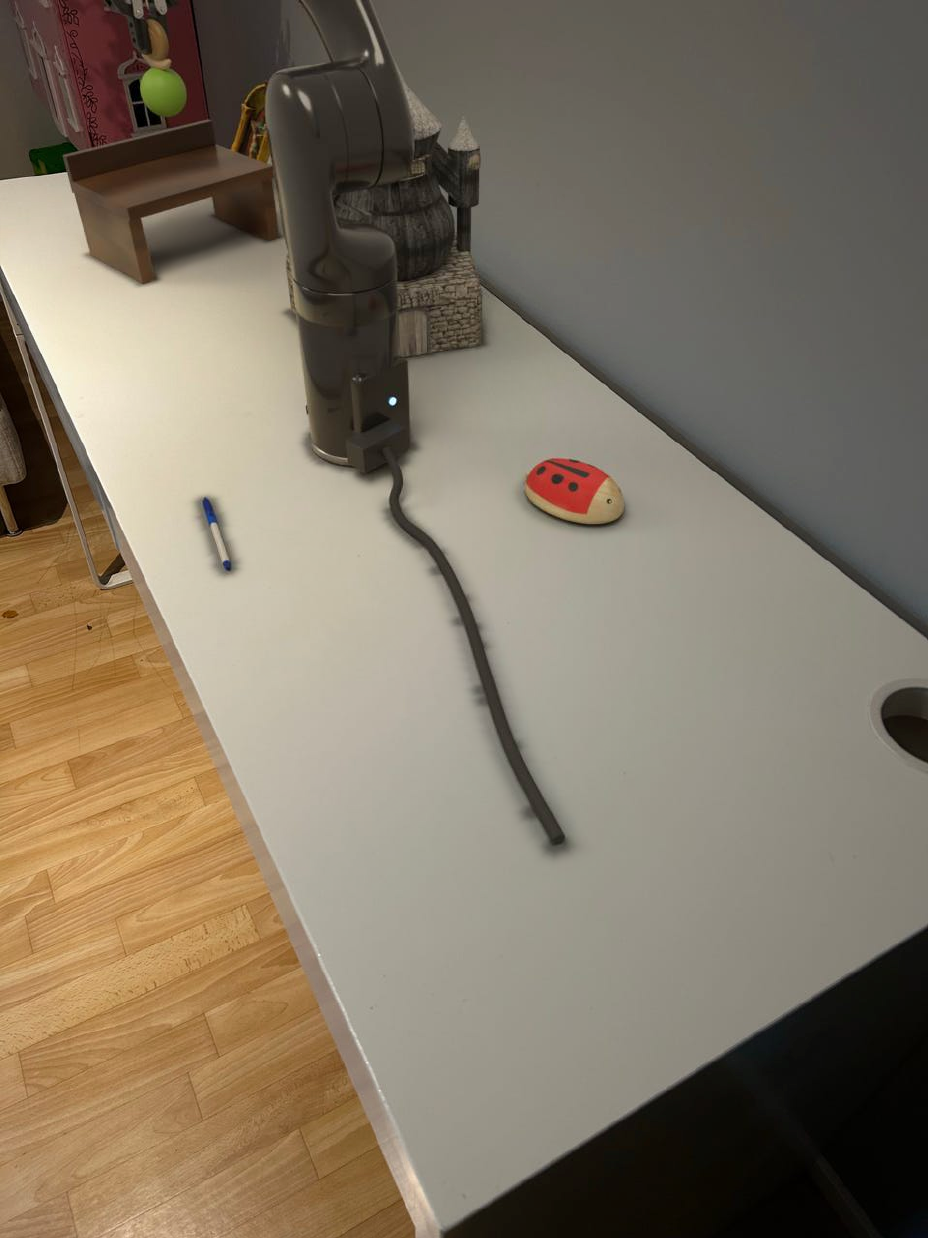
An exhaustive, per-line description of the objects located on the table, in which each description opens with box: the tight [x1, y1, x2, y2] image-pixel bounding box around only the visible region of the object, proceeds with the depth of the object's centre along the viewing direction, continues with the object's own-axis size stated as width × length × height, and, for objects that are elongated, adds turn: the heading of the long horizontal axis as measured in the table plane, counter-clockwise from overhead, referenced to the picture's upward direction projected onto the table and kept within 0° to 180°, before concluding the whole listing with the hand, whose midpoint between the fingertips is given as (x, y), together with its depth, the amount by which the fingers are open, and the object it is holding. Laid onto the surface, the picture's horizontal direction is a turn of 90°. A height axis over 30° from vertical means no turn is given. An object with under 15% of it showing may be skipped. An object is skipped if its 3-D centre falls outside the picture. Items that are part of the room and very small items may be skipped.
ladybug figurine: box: [524, 457, 625, 525], centre depth 85 cm, size 7×10×4 cm
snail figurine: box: [139, 18, 188, 118], centre depth 113 cm, size 5×6×12 cm
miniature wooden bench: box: [62, 119, 280, 285], centre depth 125 cm, size 14×22×13 cm, turn 136°
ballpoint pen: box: [202, 496, 231, 571], centre depth 82 cm, size 10×1×1 cm, turn 23°
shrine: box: [230, 78, 271, 164], centre depth 141 cm, size 12×8×15 cm
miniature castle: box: [285, 60, 483, 358], centre depth 102 cm, size 22×16×30 cm
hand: (153, 51), depth 112 cm, fingers closed on snail figurine
